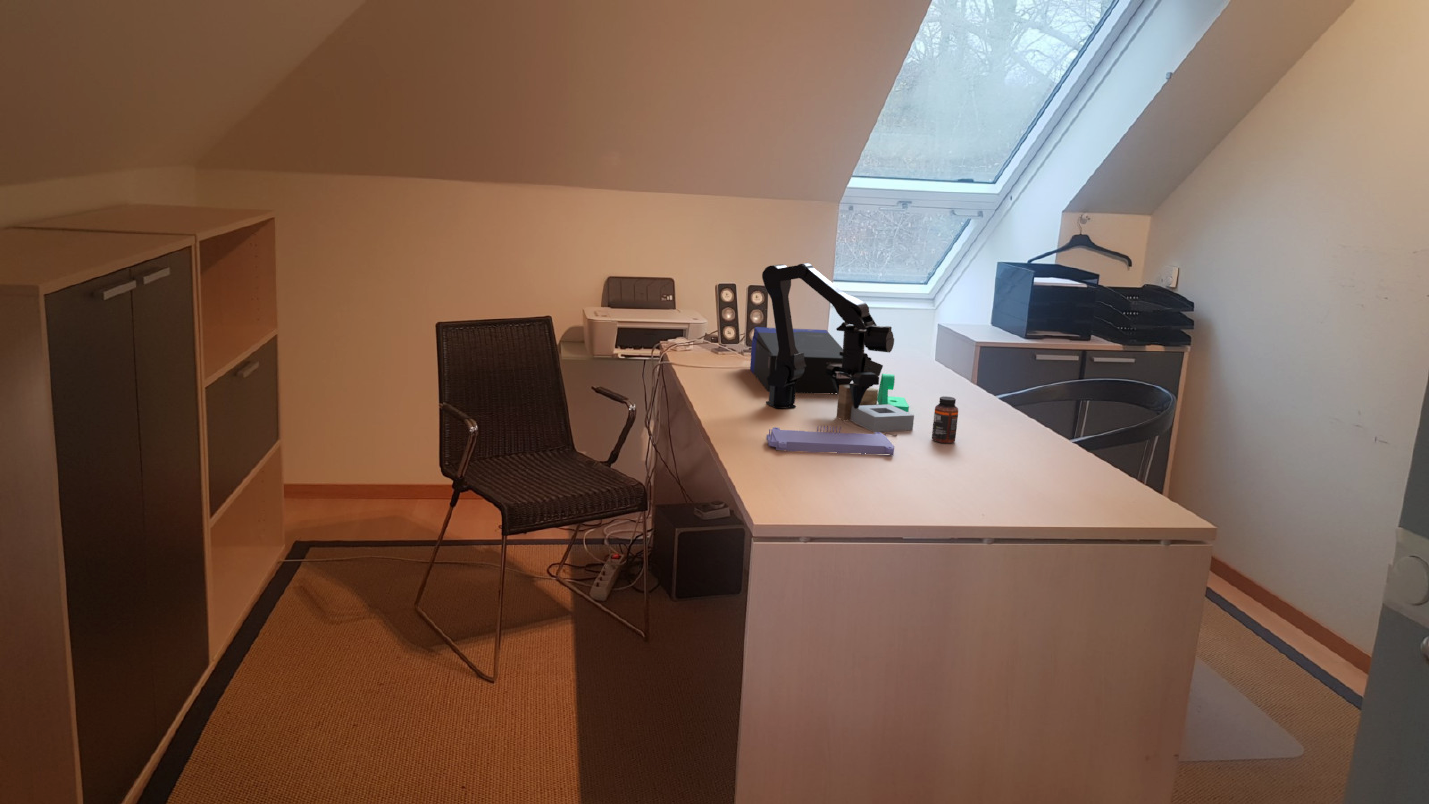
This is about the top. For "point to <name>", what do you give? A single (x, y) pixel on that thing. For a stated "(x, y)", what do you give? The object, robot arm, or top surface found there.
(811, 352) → the headphone box
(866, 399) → the round dowel
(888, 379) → the green angle bracket
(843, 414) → the square peg
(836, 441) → the computer part
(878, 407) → the socket block
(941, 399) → the supplement bottle
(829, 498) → the top surface
